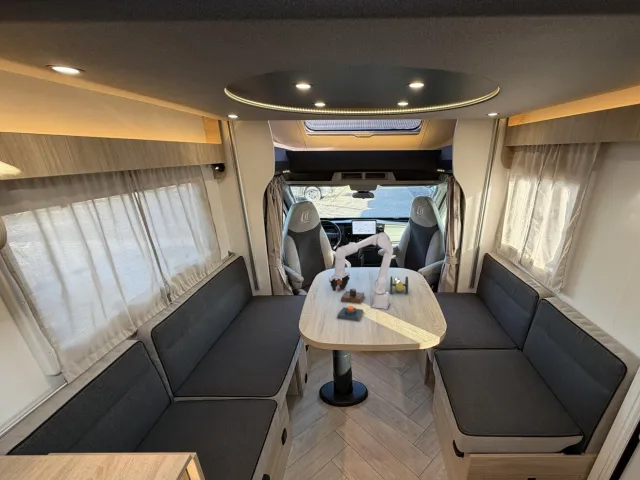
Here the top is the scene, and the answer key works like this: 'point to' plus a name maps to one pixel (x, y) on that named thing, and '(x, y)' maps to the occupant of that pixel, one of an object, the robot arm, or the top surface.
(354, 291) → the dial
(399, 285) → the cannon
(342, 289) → the brown angular figurine
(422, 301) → the top surface
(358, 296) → the base
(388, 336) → the top surface
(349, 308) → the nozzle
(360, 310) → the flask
